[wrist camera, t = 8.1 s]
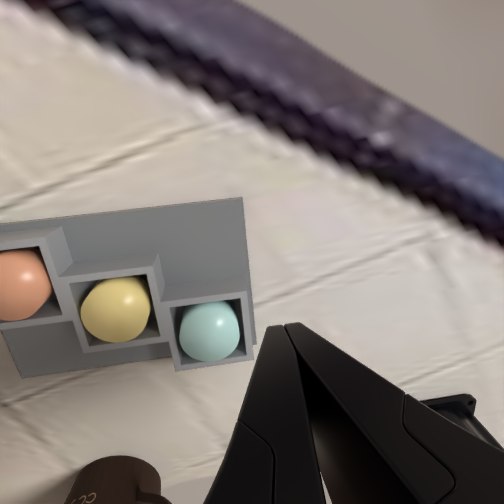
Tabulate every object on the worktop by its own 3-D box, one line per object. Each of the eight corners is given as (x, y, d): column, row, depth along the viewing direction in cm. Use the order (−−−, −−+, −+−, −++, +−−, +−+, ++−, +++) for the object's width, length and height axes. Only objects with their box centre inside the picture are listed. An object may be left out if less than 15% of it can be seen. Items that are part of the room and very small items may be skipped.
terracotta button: (48, 242, 18) (29, 255, 16) (66, 297, 19) (51, 315, 17) (-18, 249, 18) (-45, 264, 16) (4, 305, 19) (-18, 324, 17)
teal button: (233, 290, 20) (236, 307, 19) (239, 337, 22) (242, 357, 20) (177, 298, 20) (174, 315, 18) (186, 344, 21) (184, 365, 19)
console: (241, 197, 19) (246, 206, 17) (255, 340, 23) (260, 364, 21) (-37, 227, 18) (-72, 242, 16) (25, 374, 22) (4, 402, 19)
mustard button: (146, 267, 19) (140, 283, 17) (158, 318, 20) (153, 337, 19) (86, 275, 19) (72, 292, 17) (101, 326, 20) (90, 346, 18)
